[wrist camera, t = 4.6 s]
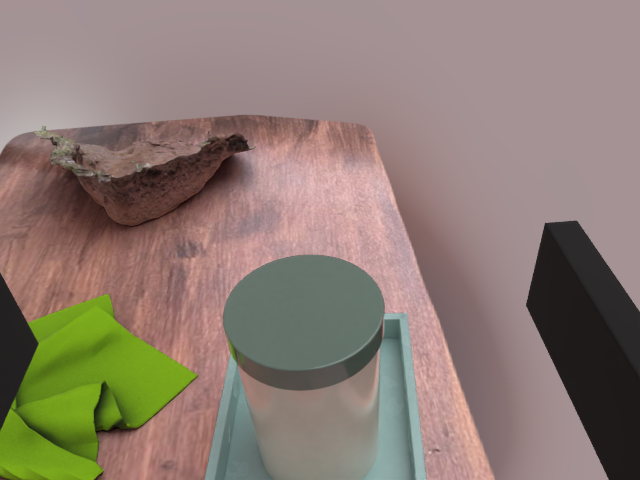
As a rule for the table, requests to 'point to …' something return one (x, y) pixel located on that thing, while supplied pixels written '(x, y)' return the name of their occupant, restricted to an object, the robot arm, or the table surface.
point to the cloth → (82, 393)
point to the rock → (143, 172)
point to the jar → (310, 365)
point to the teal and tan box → (396, 419)
